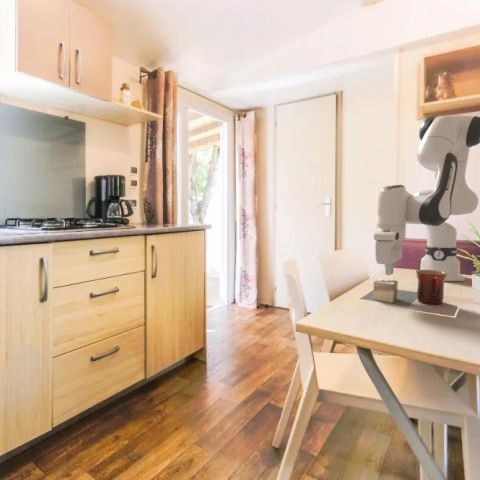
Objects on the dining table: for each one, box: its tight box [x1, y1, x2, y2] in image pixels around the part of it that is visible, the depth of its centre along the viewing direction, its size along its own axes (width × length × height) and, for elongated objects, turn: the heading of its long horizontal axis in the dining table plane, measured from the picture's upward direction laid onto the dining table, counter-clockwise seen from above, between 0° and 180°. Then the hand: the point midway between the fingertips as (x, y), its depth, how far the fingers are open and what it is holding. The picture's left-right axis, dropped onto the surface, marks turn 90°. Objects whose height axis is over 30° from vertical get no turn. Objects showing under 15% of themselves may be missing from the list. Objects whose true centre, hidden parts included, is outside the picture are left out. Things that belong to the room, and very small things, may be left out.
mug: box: [415, 269, 447, 306], centre depth 108 cm, size 12×9×10 cm
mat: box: [359, 289, 418, 307], centre depth 119 cm, size 22×15×1 cm
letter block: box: [372, 278, 399, 302], centre depth 113 cm, size 6×6×6 cm
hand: (389, 274), depth 116 cm, fingers closed
